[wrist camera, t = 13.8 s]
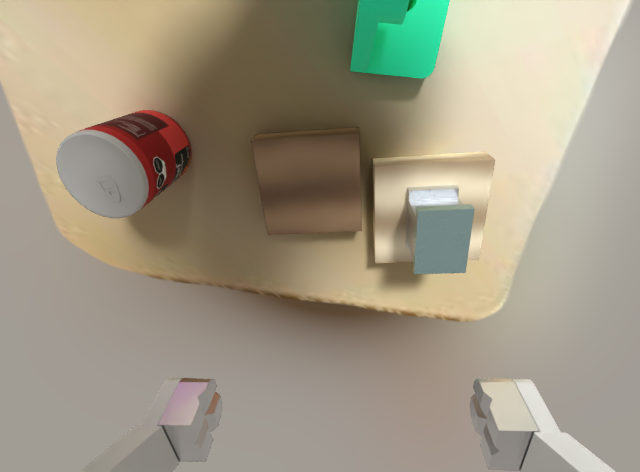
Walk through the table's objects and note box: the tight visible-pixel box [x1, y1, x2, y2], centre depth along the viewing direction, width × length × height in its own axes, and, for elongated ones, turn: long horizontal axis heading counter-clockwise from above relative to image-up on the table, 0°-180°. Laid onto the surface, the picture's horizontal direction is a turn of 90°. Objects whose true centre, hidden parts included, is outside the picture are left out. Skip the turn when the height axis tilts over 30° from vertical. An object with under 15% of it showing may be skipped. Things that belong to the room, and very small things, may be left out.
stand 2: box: [373, 152, 495, 263], centre depth 40 cm, size 12×12×3 cm
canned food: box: [56, 110, 191, 218], centre depth 35 cm, size 8×8×11 cm
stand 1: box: [251, 127, 362, 235], centre depth 39 cm, size 11×11×3 cm
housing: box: [405, 185, 475, 274], centre depth 36 cm, size 5×7×6 cm
